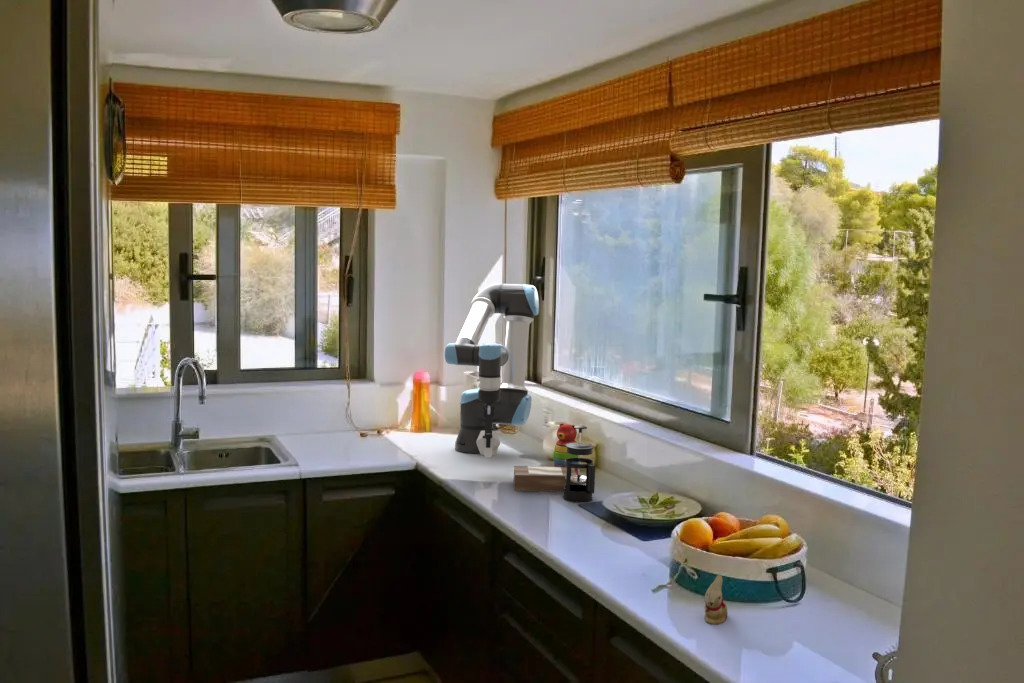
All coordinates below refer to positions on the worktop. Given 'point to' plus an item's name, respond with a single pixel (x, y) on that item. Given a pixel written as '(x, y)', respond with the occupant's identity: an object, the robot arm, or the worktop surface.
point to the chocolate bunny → (715, 603)
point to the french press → (576, 490)
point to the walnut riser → (540, 478)
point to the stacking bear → (560, 451)
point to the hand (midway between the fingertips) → (488, 452)
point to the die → (494, 442)
